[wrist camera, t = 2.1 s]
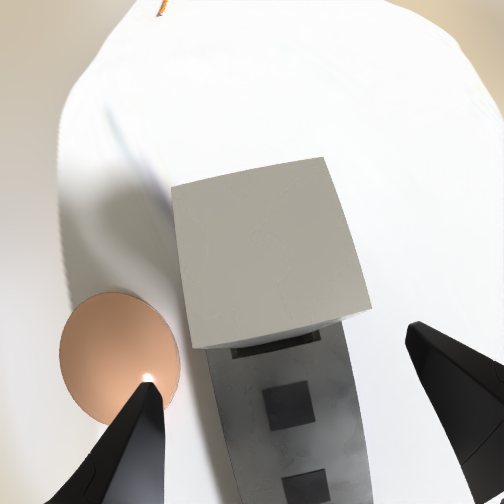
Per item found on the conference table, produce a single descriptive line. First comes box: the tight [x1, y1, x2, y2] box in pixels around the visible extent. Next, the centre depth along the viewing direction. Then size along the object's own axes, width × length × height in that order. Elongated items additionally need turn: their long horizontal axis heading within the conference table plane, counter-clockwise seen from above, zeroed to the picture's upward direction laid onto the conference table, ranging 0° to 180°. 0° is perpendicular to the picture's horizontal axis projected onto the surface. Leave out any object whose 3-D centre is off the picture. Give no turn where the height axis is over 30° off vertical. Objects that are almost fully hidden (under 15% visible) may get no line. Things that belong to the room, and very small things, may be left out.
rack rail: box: [206, 321, 373, 504], centre depth 17 cm, size 20×8×3 cm, turn 11°
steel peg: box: [171, 157, 372, 349], centre depth 13 cm, size 4×4×14 cm
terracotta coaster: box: [59, 292, 180, 425], centre depth 19 cm, size 10×10×1 cm
